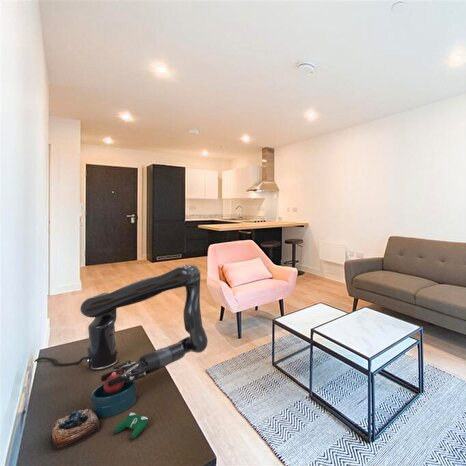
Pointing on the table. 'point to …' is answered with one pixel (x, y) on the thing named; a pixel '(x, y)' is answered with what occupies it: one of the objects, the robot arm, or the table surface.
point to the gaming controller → (133, 424)
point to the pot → (113, 400)
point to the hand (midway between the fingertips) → (104, 381)
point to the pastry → (74, 428)
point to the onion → (115, 387)
